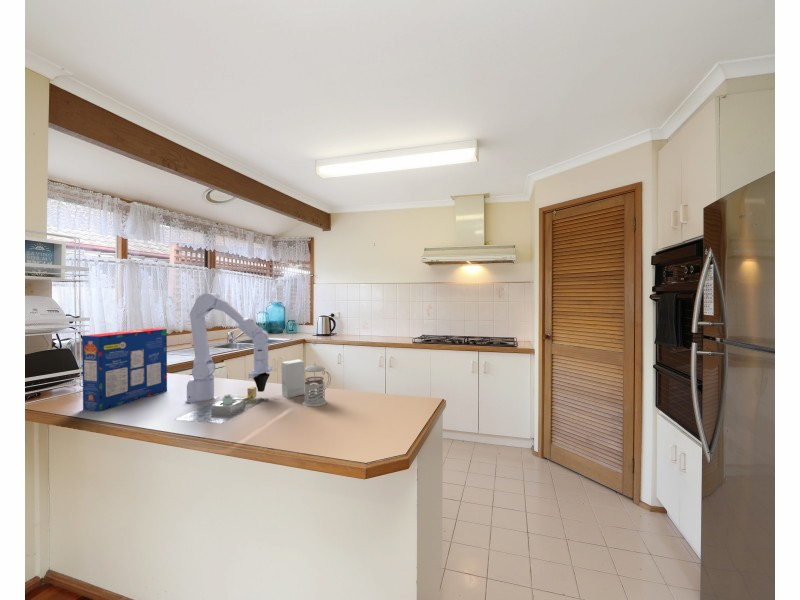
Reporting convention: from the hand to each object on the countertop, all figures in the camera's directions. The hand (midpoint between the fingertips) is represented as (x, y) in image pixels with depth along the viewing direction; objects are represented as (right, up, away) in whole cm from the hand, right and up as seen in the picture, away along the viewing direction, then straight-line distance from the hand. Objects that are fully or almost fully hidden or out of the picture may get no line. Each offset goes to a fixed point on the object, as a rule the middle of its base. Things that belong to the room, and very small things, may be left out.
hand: (261, 391), depth 145 cm
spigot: (-4, -2, -21) cm, 21 cm away
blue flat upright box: (-53, -3, -4) cm, 53 cm away
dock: (-6, -3, -18) cm, 19 cm away
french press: (+25, -3, -7) cm, 26 cm away
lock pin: (-2, -1, -10) cm, 10 cm away
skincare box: (+13, -3, +3) cm, 13 cm away
